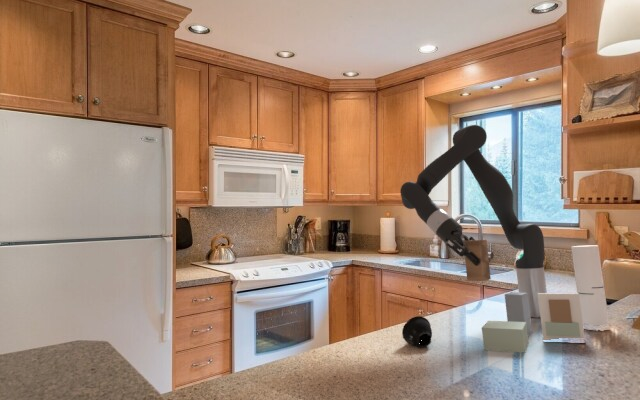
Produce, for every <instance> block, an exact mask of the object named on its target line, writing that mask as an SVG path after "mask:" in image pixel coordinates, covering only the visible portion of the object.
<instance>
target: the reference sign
mask: <svg viewBox="0 0 640 400" xmlns="http://www.w3.org/2000/svg"><path fill="white" fill-rule="evenodd" d="M538 300H539V308H540V317H539V318H540V325H541V332H542V341H543V340H551V339H559V338H585V339H586V337H585V330H584V328H583V320H582V312H581V305H580V297H579V293H578V292H557V293H556V292H547V293H538Z"/></svg>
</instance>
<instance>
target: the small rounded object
mask: <svg viewBox="0 0 640 400" xmlns="http://www.w3.org/2000/svg"><path fill="white" fill-rule="evenodd" d="M431 326H432V325H431V323H430V321H429V320H428V319H427V318H426V317H424V316H421V315H420V316H418V315H417V316H413V317H411V318H409V319H408V320H407V321H406V322H405V323H404V325H403V328H402V332H401V333H402V338H403V340H404V341H405V343H408V344H409V345H412V346H414V347H422V348H425V347H429V345H431V343H432V336H433V332H432V327H431ZM421 340H422V341H421ZM419 343H420V344H419Z"/></svg>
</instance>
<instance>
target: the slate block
mask: <svg viewBox="0 0 640 400" xmlns="http://www.w3.org/2000/svg"><path fill="white" fill-rule="evenodd" d="M504 299H505V300H504V301H505V310H506V311H505V312H506V320H507V321H510V322H526V324H527V333H528V336H529V335H531V334H533V328H532V327H533V326H532V319H531V318H532V317H530V308H529V300H528V293H519V291H518V292H517V291H516V292H515V291H514V292H513V291H511V292H507V293H505V294H504Z"/></svg>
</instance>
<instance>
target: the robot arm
mask: <svg viewBox="0 0 640 400" xmlns="http://www.w3.org/2000/svg"><path fill="white" fill-rule="evenodd" d="M452 136H453V137H452V146H451V147H450V148H448V149H447V150H446V151H445V152H444V153H442V154H441V155H440V156H438V157H437V158H435V159H434V160H433V161H431V162H430V163H429V164H428V165H426V167H425V168H423V170H422V171H421V172H419V174H418V175H417V177H416V181H415V182H414V181H406V182H404V183H403V184H402V185H401V187H400V191H399V192H400V197H401V201H402V205H403V206H404V208H406V209H408V210H415V211H416V214H417V216H418V217H419V218H420V220H422V221H423V223H425V225H427V226H428V227H429V229H430V230H431V231H432V232H433V233H434V234H435V235H436V236H437V237H438V238H439V239H440V240H441V241H442V242H443V243H444V244H446V246H447V247H448V248H450V249H451V250H452V251H453V252H455V254H457V255H459V256H460V257H464V258H465V257H466V258H468V259H469V260H470V261H471V262H472V263H473V264H474V265H475V266H478V265H479V264H480V262H481V260H480V259H479V258H478V257H477V256H476V255H475V254H474V253H473V252H472V251H471V250H470V249H469V248H468V245H467V244H466V243H465V242H464V241H473V240H476V239H475V238H474V237H472V236H470V237H469V236H467V235H465V234H463V226H462V225H461V224H460V223H458V221H457V220H455V219H454V217H452V216H451V215H450V214H449V213H448V212H447V211H445V210H443V209H442V208H441V207H440V206H439V205H438V204H436V203H435V202H434V201H433V200H432V198H431V197H430V195H431V192H432V190H433V189H434V188H435V187H436V186H437V185H439V183H441V181H442V180H443V179H444V178H446V177H447V176H448V174H449V173H450V172H452V171H453V170H454V169H455V168H456V167H457V166H458V165H460V163H462V162H465V165H466V166H467V167H468V168H469V170H470V171H471V174H472V175H473V177H474V178H475V180H476V182H477V183H478V186H479V187H480V189H481V191H482V193H483V195H484V196H485V198H486V201H487V202H488V203H489V204H490V206H491V208H492V209H493V212H494V213H495V214H494V215H496V218H497V219H498V221H499V224H500V225H501V228H502V230H503V233H504V235H505V237H506V239H507V241H508V243H509V244H510V245H511V246H512V247H513V248H514V249H517V250H522V252H523V253H522V256H521V257H520V258H518V259H516V260H515V270H516V277H517V278H516V280H517V287H518V293H528V300H529V308H530V317H531V318H541V317H540V308H539V300H538V293H548V290H547V282H546V276H545V275H546V274H545V267H544V263H545V258H546V253H545V240H544V234H543V231H542V228H541V227H540V226H539V225H537V224H535V223H526V224H525V223H524V224H522V223H521V222H520V221H519V220H518V218H517V216H516V214H515V211H514V193H513V189H512V187H511V185H510V183H509V182H508V180H507V178H506V176H505V175H504V174H503V172H501V171H500V170H499V169H498V168H496V166H494V165H493V164H492V163H490V162H489V161H488V160H487V159H486V157H484V155H483V153H482V152H481V150H480V149H481V148H482V147H484V145H485V144H486V142H487V139H488V136H487V132H486V130H485V128H484V127H483V126H481V125H478V124H470V125H467V126H465V127H461V128H460V129H458V130H456V131H455V132H454V134H453V135H452ZM490 260H491V259H490V258H489V262H490Z"/></svg>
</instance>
